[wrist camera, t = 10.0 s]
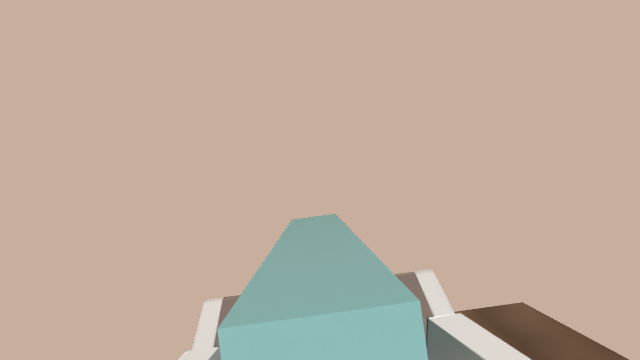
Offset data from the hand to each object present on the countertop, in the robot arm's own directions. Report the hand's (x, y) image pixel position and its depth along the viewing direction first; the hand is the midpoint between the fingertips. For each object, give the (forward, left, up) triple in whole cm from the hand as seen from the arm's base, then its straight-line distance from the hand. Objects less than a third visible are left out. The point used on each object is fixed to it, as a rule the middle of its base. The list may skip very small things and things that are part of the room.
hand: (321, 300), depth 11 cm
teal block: (0, -6, -2) cm, 7 cm away
